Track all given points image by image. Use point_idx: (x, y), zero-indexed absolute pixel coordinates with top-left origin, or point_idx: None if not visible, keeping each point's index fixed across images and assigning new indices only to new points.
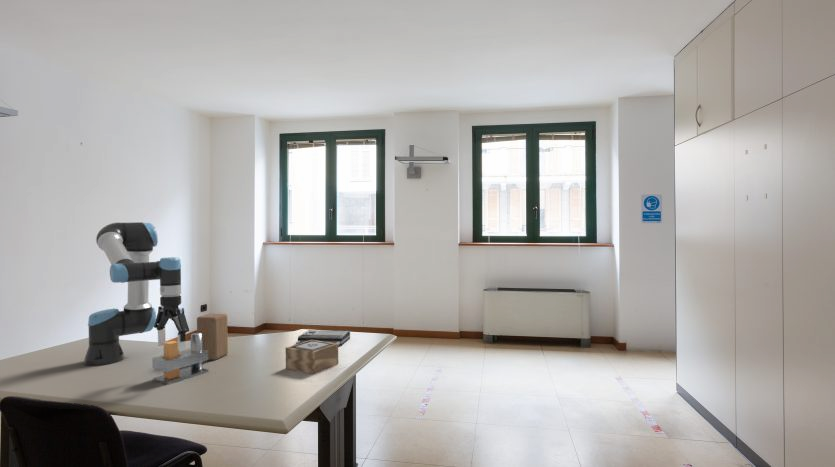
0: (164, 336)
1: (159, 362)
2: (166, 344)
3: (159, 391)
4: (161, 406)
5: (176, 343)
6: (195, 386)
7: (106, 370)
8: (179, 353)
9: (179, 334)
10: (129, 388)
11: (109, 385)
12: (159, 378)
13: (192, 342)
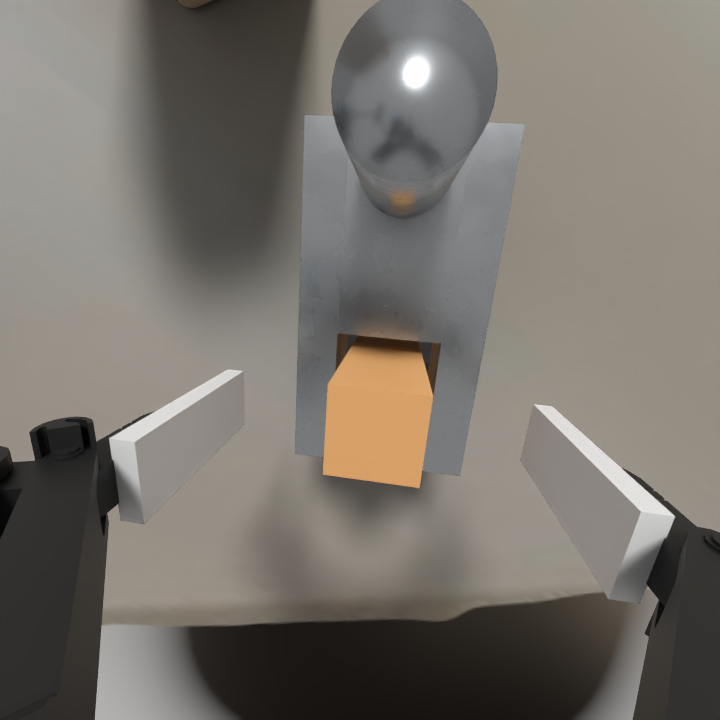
0: (198, 411)
1: None
2: (370, 475)
3: (488, 481)
4: None
5: (428, 417)
6: (603, 385)
7: (12, 382)
8: (359, 305)
9: (639, 588)
10: (336, 494)
11: (230, 496)
12: None
13: (415, 203)
